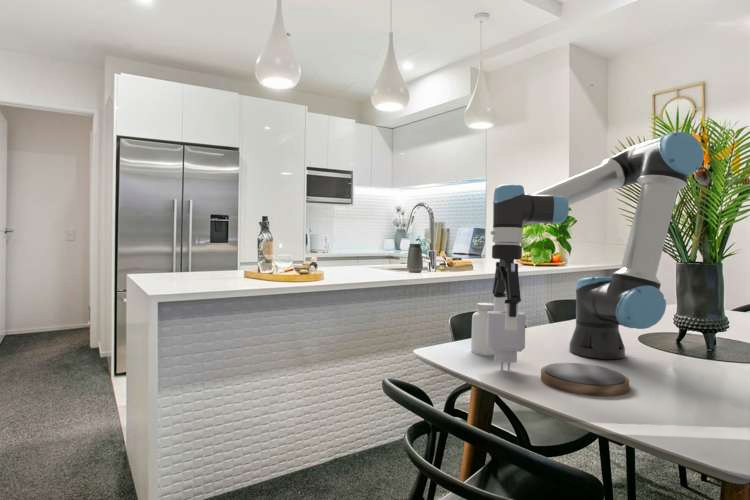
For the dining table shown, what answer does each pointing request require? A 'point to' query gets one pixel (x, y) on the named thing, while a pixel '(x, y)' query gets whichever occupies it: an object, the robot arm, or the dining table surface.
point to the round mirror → (585, 379)
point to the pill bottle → (481, 329)
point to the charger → (505, 337)
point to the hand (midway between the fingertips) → (504, 325)
